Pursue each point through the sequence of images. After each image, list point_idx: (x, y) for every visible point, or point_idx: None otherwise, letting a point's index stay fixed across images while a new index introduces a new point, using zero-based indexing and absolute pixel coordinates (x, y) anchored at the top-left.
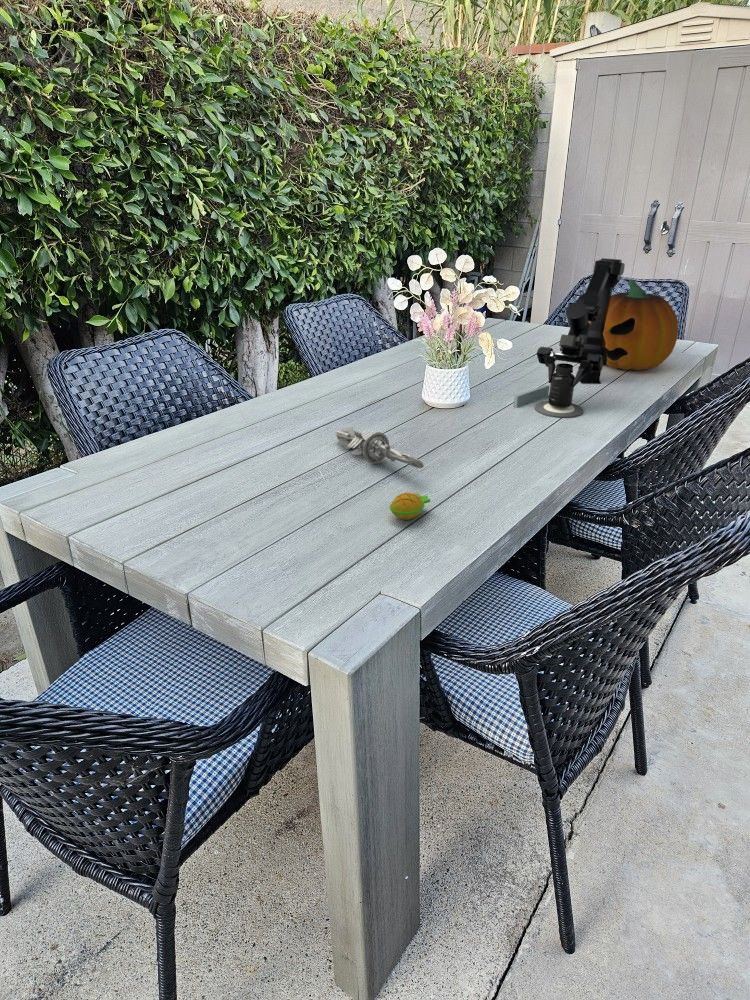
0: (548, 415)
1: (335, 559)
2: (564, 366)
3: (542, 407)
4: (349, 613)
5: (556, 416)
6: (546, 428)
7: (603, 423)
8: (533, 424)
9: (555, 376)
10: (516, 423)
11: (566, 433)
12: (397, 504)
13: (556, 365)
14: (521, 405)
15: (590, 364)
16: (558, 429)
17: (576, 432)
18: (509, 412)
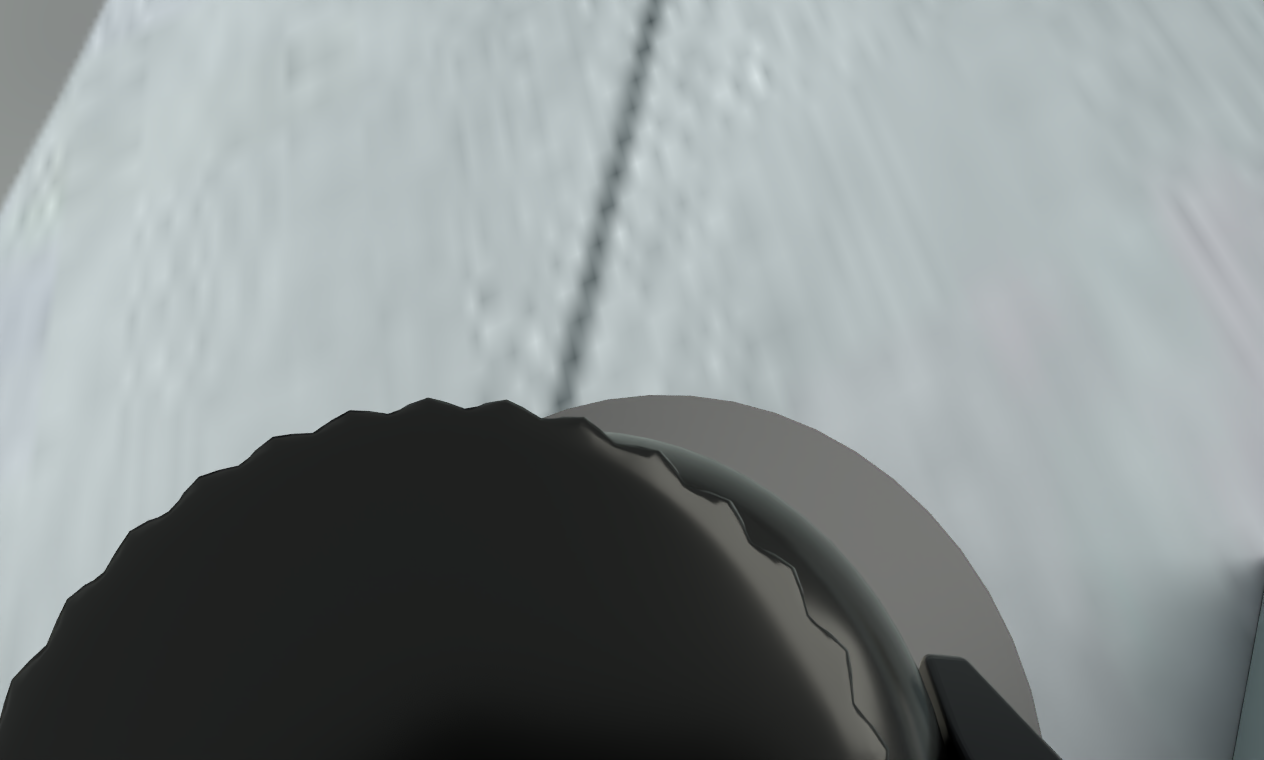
0: (726, 407)
1: None
2: (389, 639)
3: None
4: None
5: (619, 401)
6: (646, 50)
7: (74, 468)
8: (803, 85)
9: (758, 516)
10: (980, 29)
11: (441, 26)
12: None
13: (874, 734)
14: (1251, 675)
15: None
16: (528, 80)
17: (353, 90)
18: (1243, 313)
